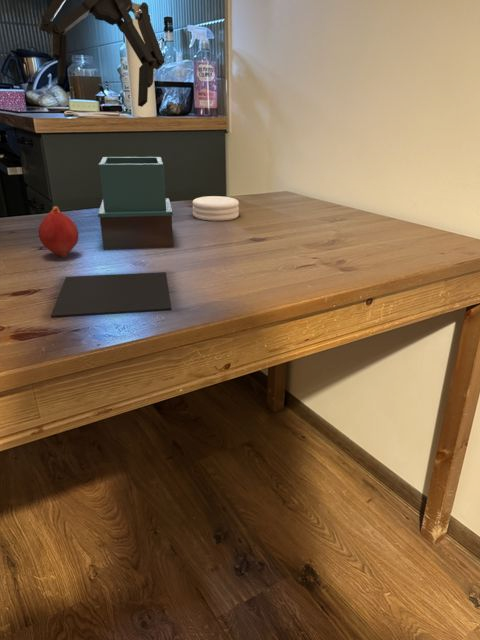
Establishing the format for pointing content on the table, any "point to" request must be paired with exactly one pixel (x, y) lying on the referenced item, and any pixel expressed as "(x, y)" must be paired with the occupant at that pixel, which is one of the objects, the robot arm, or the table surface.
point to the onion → (58, 233)
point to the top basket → (133, 187)
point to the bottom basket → (136, 232)
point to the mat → (112, 294)
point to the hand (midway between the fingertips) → (103, 92)
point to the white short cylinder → (215, 208)
